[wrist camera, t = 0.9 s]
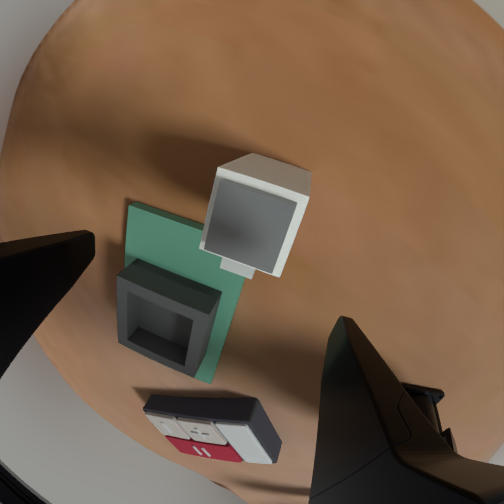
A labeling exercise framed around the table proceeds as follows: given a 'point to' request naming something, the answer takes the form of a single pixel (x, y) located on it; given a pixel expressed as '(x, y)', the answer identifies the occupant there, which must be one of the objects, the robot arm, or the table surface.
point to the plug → (255, 214)
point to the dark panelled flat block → (216, 427)
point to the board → (173, 293)
